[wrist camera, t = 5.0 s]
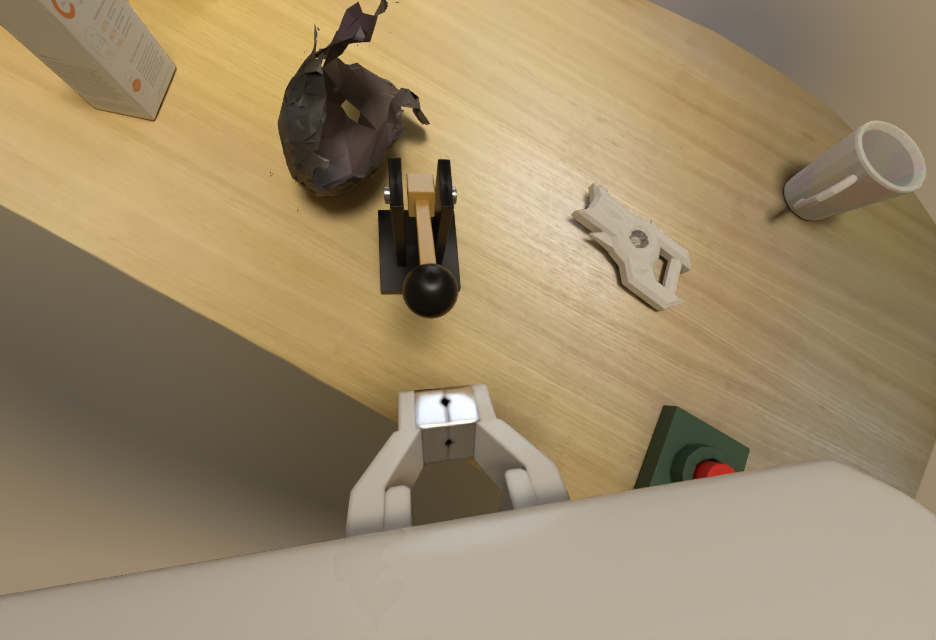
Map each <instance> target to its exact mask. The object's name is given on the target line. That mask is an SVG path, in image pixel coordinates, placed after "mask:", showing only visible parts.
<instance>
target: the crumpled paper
mask: <svg viewBox="0 0 936 640" xmlns="http://www.w3.org/2000/svg"><path fill="white" fill-rule="evenodd" d="M387 3H388V2H386V0H381V3H380V5H379V7H378V9H377V11H376V13H375V15H374V16H373V15H369V14H365V13H362V10H361V7H360V4H359V2H357V3H356V4H354V5H353V6H351V7H350V8H348V9H347V10H346V12H345V14H344V16H343V19H342V21H341V25H340V27H339V30H338V31H337V32H336V34H335V36H334V38H333V40H332V42H331V43H330V44H329V45H328V46H327V47H326V48H324V49H319V51H317V52H315V51H316V43H317V40H316V37H317V30H316V26H315V31H314V48H313V51H312V53H311V54H310V55H309V56H308V57H307V59H306V60H305V61H304V62H303V64H302V65H301V67H300V68H299V70H298V71H297V73H296V74H295V76H294V77H293V78H292V79H291V81H290V82H289V84H288V86H287V88H286V90H285V94H284V98H283V103H282V107H281V111H280V115H279V119H278V130H279V135H280V139H281V143H282V147H283V154H284V155H285V159H286V163H287V166H288V169H289V171H290V173H291V175H292V177H293V179H294V180H296V181H297V182H298V183H299V184H300V185H301V186H302V188H303V189H304V190H305V189H309V190H310V191H311V192H312V193H313V194H314V195H316V196H327V197H335V196H339V195H343V194H345V193H346V192H347V191H348V190H350V189H352V188H354V187H356V186H357V185H359V184H360V183H362V182H363V181H365V180H366V179H367V178H368V177H369V176H371V175H372V174H373V173H374V172H375V171H376V170H377V169H378V168H379V167H380V166H381V164H382V162H383V159H384V157H385V155H386V153H387V151H388V149H389V148H390V147H391V146H392V145H393V143H394V142H395V141H396V140H397V139H398V138H399V136H400V135H401V133H402V132H403V130H404V129H405V128H404V127H403V126H402V118H401V113H402V112H403V111H404V110H401V106H403V107H410V108H413V112H414V114H415V116H416V117H417V118H418V120H419V121H420V123H422V125H423V124H426V125H428V124H430V123H429V121H428V120H427V118H426V117H425V115H424V114H423V112H422V111H421V109H420V103H419V97H418V96H416V95H415V94H414V93H413V92H411V91H410V90H409V89H405V88H401V89H400V90H398V89H397V88H396V87H395V86H394V85H393V84H392V83H391V82H390V81H388V80H386V79H383V78H380V77H378V76H377V75H375V74H374V73H372V72H370V71H369V70H367V69H365V68H364V67H362V66H361V65H360V64H358V63H355V64H351V65H348V64H344V63H343V62H342V61H341V60H340V59H339V58H338V56H340V55H341V54H342V53H343V52H344V50H345V49H346V47H347V46H348V44H351V43H358V42H370V41H371V37H372V34H373V31H374V28H375V24H376V21H377V17H378V15H379V14H381V13H383V12H385V10H386V9H387V7H388V5H387ZM392 3H393V2H392ZM395 3H398V2H395ZM388 4H389V3H388ZM317 28H318V27H317ZM318 30H319V28H318ZM390 33H391V32H390ZM390 33H389V34H390ZM376 36H377V35H376ZM315 41H316V43H315ZM357 46H358V45H357ZM306 51H307V50H306ZM315 58H318V59H315ZM323 59H326V60H325V63H324V65H323V68H322V66H321V64H322V60H323ZM301 60H302V59H301ZM346 99H347V100H348V101H349V102H350V103H351V104H352V105H354V106H355V107H356V108H357V109H358V110H359V111H361V113H360V117H359V121H358V123H356V122H355V121H353V120H352V119H350V118H349V117H348V116H347V115H346V113H345V111H344V110H343V108H342V106H341V105H342V103H343V102H344V101H345V100H346ZM270 174H271V173H270ZM272 175H273V174H272ZM272 175H270V176H272ZM295 183H296V182H295ZM303 198H304V197H303ZM297 211H298V210H297Z"/></svg>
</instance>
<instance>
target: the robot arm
mask: <svg viewBox="0 0 936 640" xmlns="http://www.w3.org/2000/svg"><path fill="white" fill-rule="evenodd" d="M468 458H474V460H475V461H476V462H477V464H478V465H479V466H480V467H481V468H482V469H483V471H484V472H485V473H486V474H487V475H488V476H489V477H490V479H491V480H492V481H493V482H494V483H495V484H496V486H497V487H498V488H499V489H500V490H501V491H502V494H501V500H500V506H499V512H496V513H490V514H485V515H479V516H473V517H467V518H461V519H455V520H449V521H443V522H437V523H431V524H426V525H419V526H414V522H413V512H412V504H411V495H410V493H411V491H412V489H413V486H414V485H415V482H416V481H417V479H418V476H419V475H420V472H421V471H422V469H423V467H424V466H423V465H425V464H431V463H436V462H443V461H449V460H458V459H468ZM0 640H936V515H934V514H933V513H931V512H930V511H929V510H927V509H926V508H925V507H923V506H922V505H921V504H919V503H918V502H917V501H915V500H914V499H912V498H911V497H909V496H908V495H906V494H905V493H903V492H901V491H899V490H897V489H895V488H893V487H891V486H889V485H887V484H885V483H883V482H881V481H879V480H877V479H875V478H872V477H870V476H868V475H866V474H864V473H862V472H860V471H858V470H855V469H853V468H851V467H849V466H846V465H844V464H841V463H839V462H836V461H834V460H830V459H813V460H807V461H801V462H795V463H789V464H783V465H777V466H771V467H765V468H759V469H753V470H747V471H741V472H735V473H729V474H723V475H717V476H711V477H705V478H699V479H693V480H688V481H682V482H676V483H670V484H664V485H658V486H652V487H646V488H640V489H634V490H628V491H622V492H616V493H610V494H604V495H598V496H592V497H586V498H580V499H574V500H571V499H570V497H569V495H568V492H567V490H566V488H565V485H564V483H563V481H562V478H561V476H560V474H559V471H558V469H557V467H556V464H555V462H554V461H552V460H551V459H550V458H549V457H547V456H546V455H545V454H544V453H543V452H541V451H540V450H539V449H538V448H536V447H535V446H534V445H533V444H531V443H530V442H529V441H528V440H527V439H525V438H524V437H523V436H522V435H520V434H519V433H518V432H517V431H516V430H514V429H513V428H512V427H511V426H509V425H508V424H507V423H506V422H504V421H503V420H502V419H497V417H496V414H495V411H494V408H493V405H492V402H491V398H490V395H489V392H488V389H487V386H486V384H485V383H482V384H473V385H464V386H455V387H446V388H438V389H425V390H414V391H403V392H399V394H398V431H396V432H393V434H392V435H391V436H390V438H389V439H388V440H387V442H386V443H385V445H384V446H383V447H382V449H381V450H380V452H379V453H378V454H377V456H376V457H375V458H374V460H373V461H372V462H371V464H370V465H369V467H368V468H367V470H366V471H365V472H364V474H363V475H362V476H361V478H360V479H359V481H358V482H357V483H356V485H355V486H354V487H353V489H352V490H351V491H350V500H349V507H348V515H347V522H346V530H345V538H342V539H335V540H329V541H324V542H317V543H312V544H305V545H300V546H294V547H288V548H282V549H276V550H270V551H264V552H258V553H252V554H246V555H240V556H234V557H228V558H222V559H216V560H210V561H204V562H198V563H192V564H186V565H180V566H174V567H168V568H162V569H156V570H150V571H144V572H138V573H132V574H126V575H120V576H114V577H108V578H102V579H96V580H90V581H84V582H78V583H72V584H66V585H60V586H54V587H48V588H42V589H36V590H30V591H24V592H18V593H12V594H6V595H0Z"/></svg>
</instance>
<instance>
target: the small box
mask: <svg viewBox="0 0 936 640" xmlns="http://www.w3.org/2000/svg"><path fill="white" fill-rule="evenodd" d="M0 25H1V26H3V27H4V28H5V29H6V30H7V31H8V32H9V33H10V34H12V35H13V36H14V37H15V38H16V39H17V40H18V41H19V42H21V43H22V44H23V45H24V46H25V47H26V48H27V49H29V50H30V51H31V52H32V53H33V54H34V55H35V56H36V57H38V58H39V59H40V60H41V61H42V62H43V63H44V64H45V65H47V66H48V67H49V68H50V69H51V70H52V71H53V72H54V73H56V74H57V75H58V76H59V77H60V78H61V79H62V80H64V81H65V82H66V83H67V84H68V85H69V86H70V87H72V88H73V89H74V90H75V91H76V92H77V93H78V94H80V95H81V96H82V97H83V98H84V99H85V100H86V101H87V102H89V103H90V104H91V105H92V106H93V107H94V108H97V109H100V110H105V111H110V112H114V113H120V114H124V115H129V116H134V117H139V118H144V119H149V120H155V117H156V114H157V112H158V109H159V107H160V104H161V102H162V100H163V97H164V95H165V92H166V90H167V87H168V85H169V83H170V80H171V78H172V75H173V73H174V70H175V68H176V66H175V65H174V64H173V63H172V61H171V60H170V58H169V57H168V56H167V54H166V53H165V52H164V50H163V49H162V48H161V46H160V45H159V43H158V42H157V41H156V39H155V38H154V37H153V35H152V34H151V33H150V31H149V30H148V29H147V27H146V26H145V25H144V23H143V22H142V20H141V19H140V18H139V16H138V15H137V14H136V12H135V11H134V10H133V8H132V7H131V6H130V4H129V3H128V2H127V0H0Z"/></svg>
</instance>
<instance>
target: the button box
mask: <svg viewBox="0 0 936 640" xmlns="http://www.w3.org/2000/svg"><path fill="white" fill-rule="evenodd" d="M749 450H750V449H749V448H748V447H746V446H744V445H743V444H741V443H739V442H737V441H736V440H734V439H732V438H731V437H729V436H727V435H726V434H724V433H722V432H720V431H719V430H717V429H715V428H714V427H712V426H710V425H708V424H707V423H705V422H703V421H702V420H700V419H698V418H697V417H695V416H693V415H691V414H690V413H688V412H686V411H685V410H683V409H681V408H679V407H678V406H664V407H663V410H662V412H661V415H660V418H659V421H658V424H657V426H656V429H655V432H654V435H653V438H652V440H651V443H650V446H649V449H648V452H647V454H646V457H645V460H644V463H643V466H642V468H641V471H640V474H639V477H638V480H637V482H636V485H635V488H634V489H640V488H646V487H652V486H658V485H664V484H670V483H676V482H682V481H688V480H693V474H694V471H695V468H696V467H697V465H698V464H699V463H701V462H703V461H713V462H718V463H722V464H726V465H728V466H730V467H731V468H732V469H734V471H735V472H741V471H744V468H745V465H746V461H747V457H748V454H749Z"/></svg>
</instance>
